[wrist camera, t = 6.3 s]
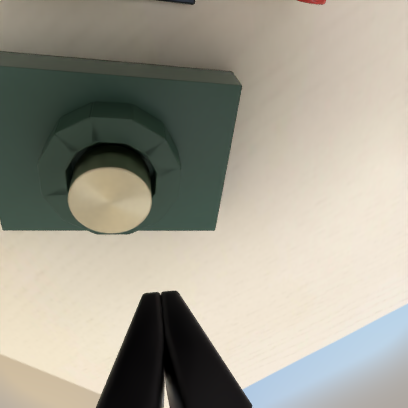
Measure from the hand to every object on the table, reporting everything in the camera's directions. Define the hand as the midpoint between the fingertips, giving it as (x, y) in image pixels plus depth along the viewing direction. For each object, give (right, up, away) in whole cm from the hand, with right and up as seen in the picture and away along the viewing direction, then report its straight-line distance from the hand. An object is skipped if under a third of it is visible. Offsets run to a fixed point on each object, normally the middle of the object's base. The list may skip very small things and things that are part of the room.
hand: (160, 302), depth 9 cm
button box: (-4, +6, +12) cm, 14 cm away
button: (-3, +4, +9) cm, 10 cm away
